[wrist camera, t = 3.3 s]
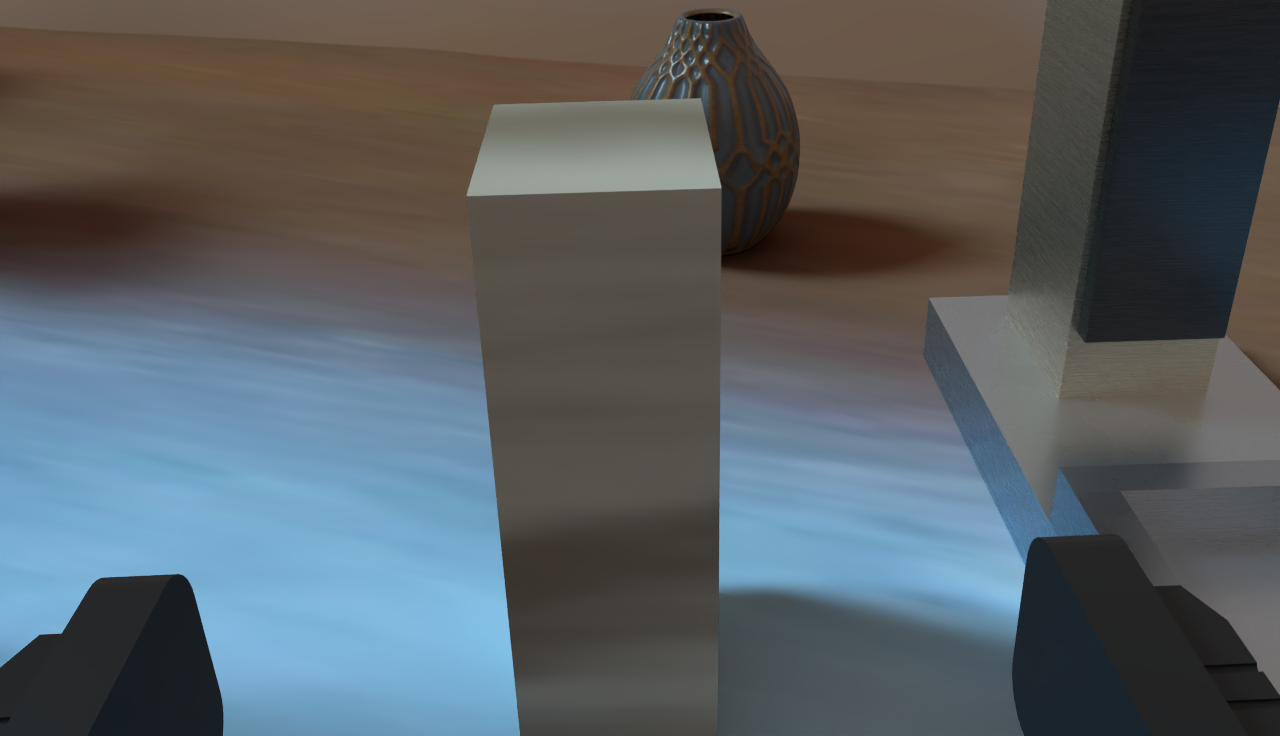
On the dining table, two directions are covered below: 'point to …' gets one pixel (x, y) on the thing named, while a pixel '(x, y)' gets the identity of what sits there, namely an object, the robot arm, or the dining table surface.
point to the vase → (733, 117)
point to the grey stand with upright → (1135, 306)
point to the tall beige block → (604, 408)
